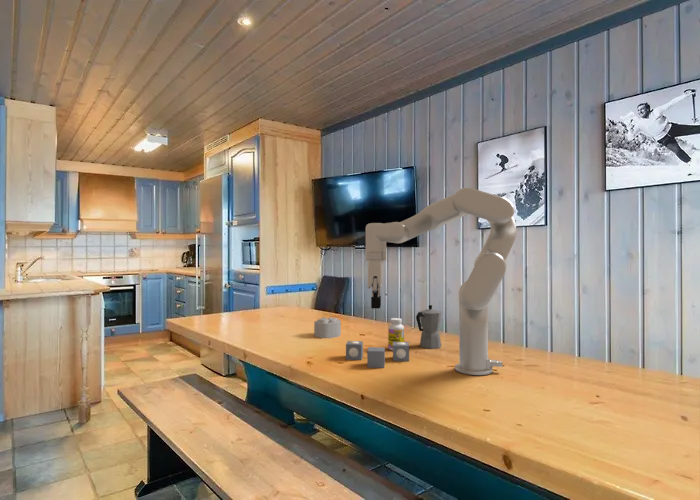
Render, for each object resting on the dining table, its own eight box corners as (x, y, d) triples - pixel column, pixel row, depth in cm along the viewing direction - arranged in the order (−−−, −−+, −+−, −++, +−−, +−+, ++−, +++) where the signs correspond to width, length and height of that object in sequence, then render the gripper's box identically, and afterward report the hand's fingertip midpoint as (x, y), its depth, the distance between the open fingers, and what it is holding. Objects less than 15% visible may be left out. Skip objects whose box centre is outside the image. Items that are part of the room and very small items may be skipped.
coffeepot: (431, 342, 194) (431, 302, 194) (448, 346, 186) (448, 304, 186) (408, 347, 184) (408, 305, 184) (425, 351, 177) (425, 308, 177)
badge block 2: (408, 357, 167) (408, 341, 167) (409, 361, 161) (409, 345, 161) (393, 357, 168) (393, 341, 168) (393, 361, 162) (393, 345, 162)
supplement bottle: (385, 350, 180) (385, 319, 179) (391, 346, 185) (391, 317, 185) (400, 351, 176) (400, 320, 176) (406, 348, 182) (406, 318, 182)
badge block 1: (362, 356, 169) (362, 340, 169) (361, 360, 163) (361, 344, 163) (347, 355, 170) (347, 340, 170) (345, 360, 164) (345, 343, 164)
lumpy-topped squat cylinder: (311, 335, 209) (311, 318, 209) (332, 332, 218) (332, 315, 218) (324, 339, 201) (324, 320, 201) (345, 335, 210) (345, 318, 210)
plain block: (384, 363, 158) (384, 347, 158) (384, 368, 153) (384, 351, 153) (368, 363, 159) (368, 347, 159) (367, 367, 153) (367, 351, 153)
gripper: (367, 256, 165) (367, 304, 165) (363, 257, 148) (363, 310, 148) (387, 256, 164) (387, 304, 164) (385, 257, 147) (385, 310, 147)
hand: (376, 306), depth 156 cm, fingers open, 4 cm apart
